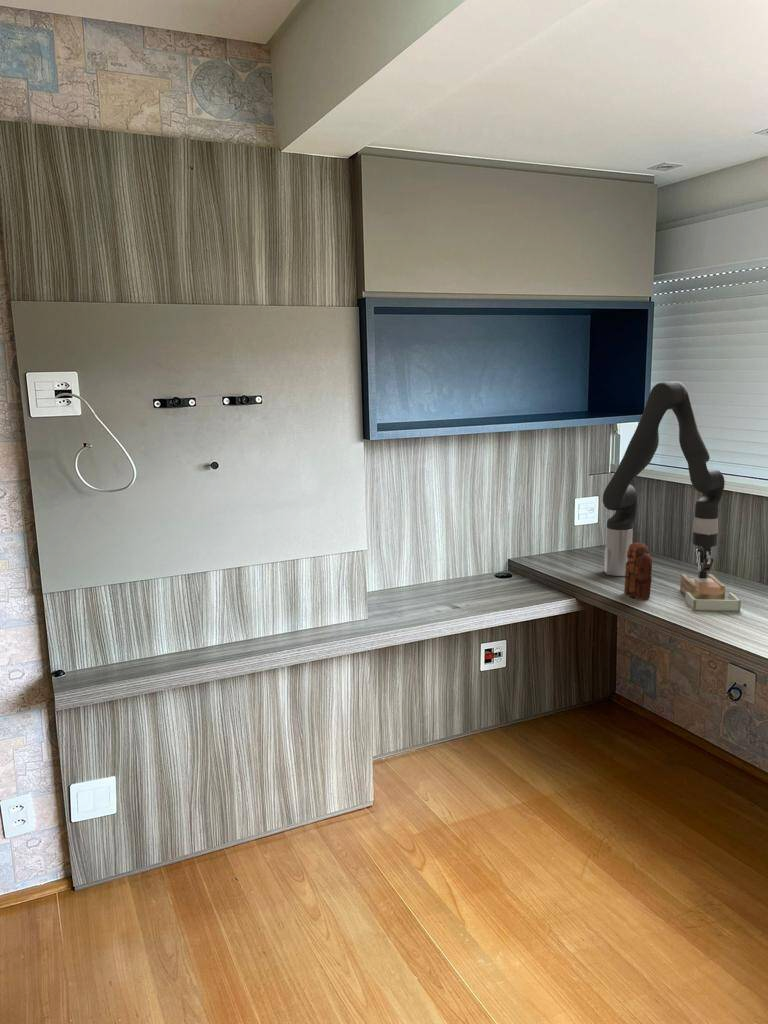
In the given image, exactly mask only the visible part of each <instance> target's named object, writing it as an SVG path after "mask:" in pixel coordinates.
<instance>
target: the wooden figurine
mask: <svg viewBox="0 0 768 1024" xmlns="http://www.w3.org/2000/svg"><path fill="white" fill-rule="evenodd" d="M649 549H650V548H649V547H648V546H647V545H646V544H645V543H643V542H639V541H636V542H632V544H630V546H629V549H628V551H627V559H628V561H627V563H626V572H625V576H624V577H625V578H624V590H623V591H624V592H623V593H624V595H625V594H626V595H625V596H628V595H629V596H630V597H629V596H628V597H629V598H631V599H636V600H639V601H643V600H649V599H650V598H651V589H652V587H651V586H652V578H653V577H652V574H653V573H652V570H653V557H652V556H651V554H650V550H649Z"/></svg>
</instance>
